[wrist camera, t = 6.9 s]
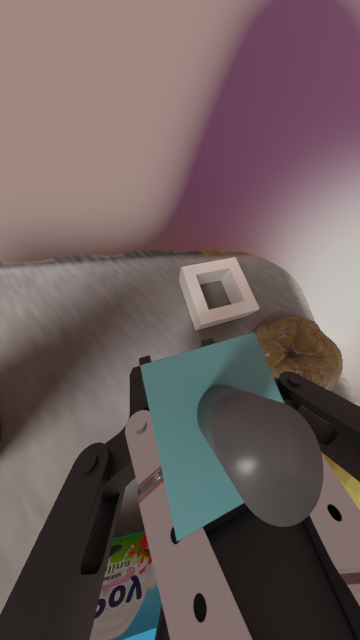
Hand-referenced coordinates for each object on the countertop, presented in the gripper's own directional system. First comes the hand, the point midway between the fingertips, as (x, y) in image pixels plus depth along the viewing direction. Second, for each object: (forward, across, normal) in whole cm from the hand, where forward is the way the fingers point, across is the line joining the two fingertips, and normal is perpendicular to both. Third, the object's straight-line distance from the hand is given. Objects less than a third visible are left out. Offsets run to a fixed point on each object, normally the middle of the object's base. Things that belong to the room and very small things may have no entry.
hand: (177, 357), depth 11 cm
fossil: (+4, -16, +10) cm, 19 cm away
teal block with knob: (+2, 0, +5) cm, 5 cm away
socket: (+12, -10, +2) cm, 16 cm away
